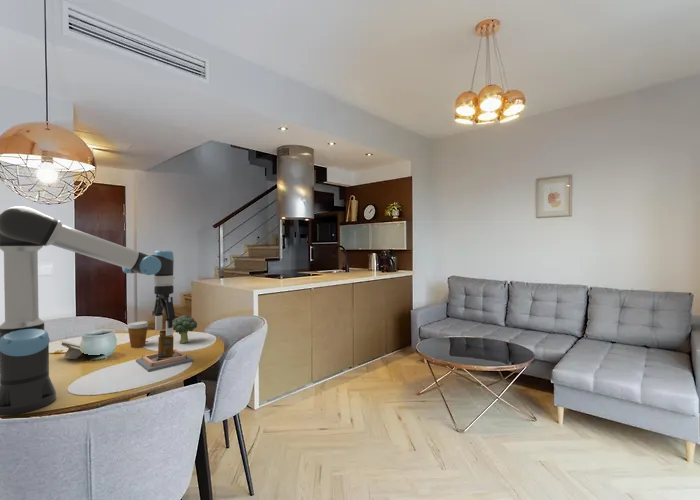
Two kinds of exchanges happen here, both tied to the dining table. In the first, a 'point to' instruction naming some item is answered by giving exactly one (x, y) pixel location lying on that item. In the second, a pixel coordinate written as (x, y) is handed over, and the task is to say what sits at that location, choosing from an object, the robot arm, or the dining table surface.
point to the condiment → (165, 345)
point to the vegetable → (184, 326)
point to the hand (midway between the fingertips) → (164, 332)
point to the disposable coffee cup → (137, 333)
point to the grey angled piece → (71, 349)
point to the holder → (163, 361)
